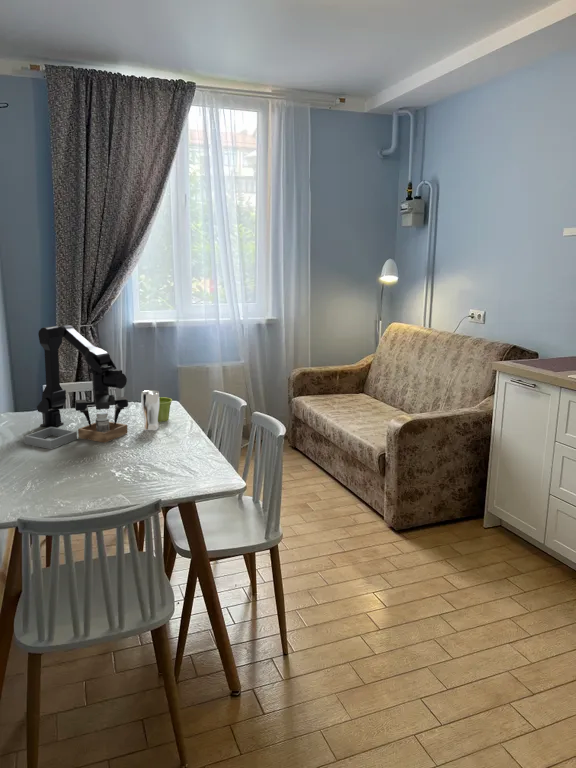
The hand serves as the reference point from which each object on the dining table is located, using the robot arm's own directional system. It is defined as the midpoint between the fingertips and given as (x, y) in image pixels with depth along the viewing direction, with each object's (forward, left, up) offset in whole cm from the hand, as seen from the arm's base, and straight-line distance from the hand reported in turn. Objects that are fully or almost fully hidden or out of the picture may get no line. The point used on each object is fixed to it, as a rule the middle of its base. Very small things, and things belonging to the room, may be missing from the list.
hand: (102, 425), depth 220 cm
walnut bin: (0, 0, -4) cm, 4 cm away
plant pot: (+7, +27, -4) cm, 28 cm away
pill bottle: (0, 0, -4) cm, 4 cm away
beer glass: (+11, +15, -4) cm, 19 cm away
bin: (-12, -14, -4) cm, 19 cm away
